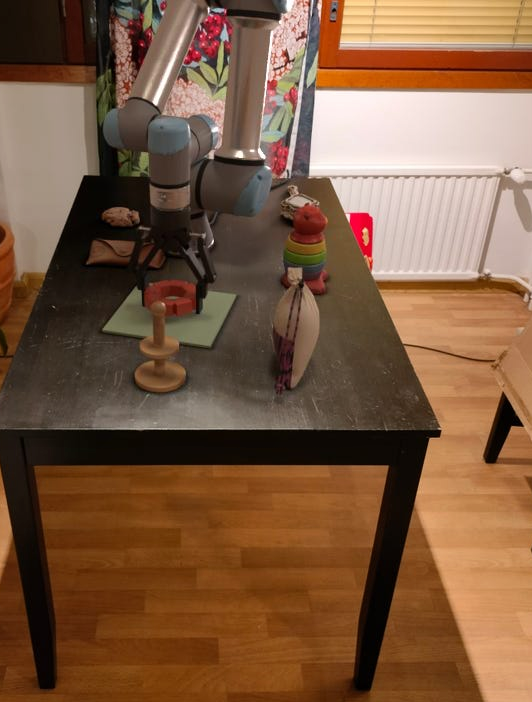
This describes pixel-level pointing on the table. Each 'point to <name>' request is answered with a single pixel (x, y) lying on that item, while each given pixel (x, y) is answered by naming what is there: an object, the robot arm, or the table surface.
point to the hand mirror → (295, 202)
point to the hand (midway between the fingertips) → (172, 307)
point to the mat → (173, 320)
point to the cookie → (121, 217)
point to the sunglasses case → (121, 253)
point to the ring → (176, 290)
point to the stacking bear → (307, 248)
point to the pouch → (295, 330)
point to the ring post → (159, 357)
